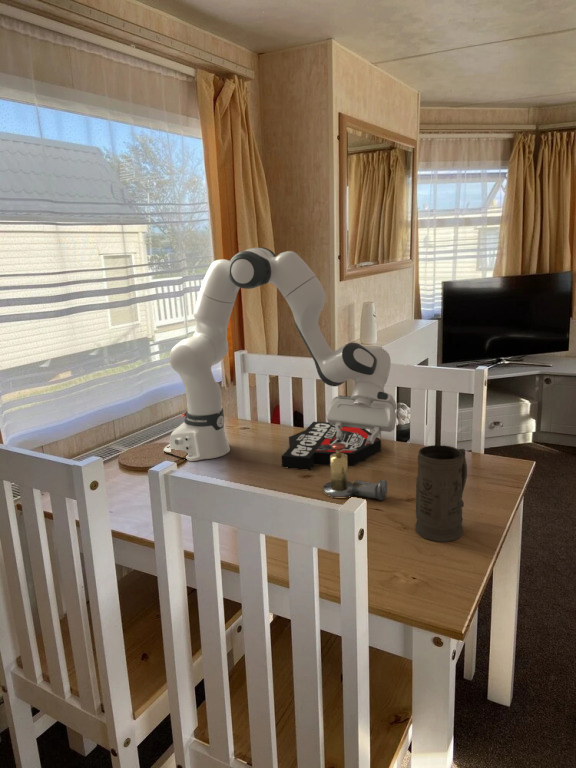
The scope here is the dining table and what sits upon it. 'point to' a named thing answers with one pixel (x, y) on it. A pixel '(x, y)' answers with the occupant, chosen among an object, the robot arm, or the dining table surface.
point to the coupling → (360, 489)
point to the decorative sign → (328, 446)
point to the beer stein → (440, 492)
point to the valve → (339, 468)
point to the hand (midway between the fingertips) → (354, 440)
